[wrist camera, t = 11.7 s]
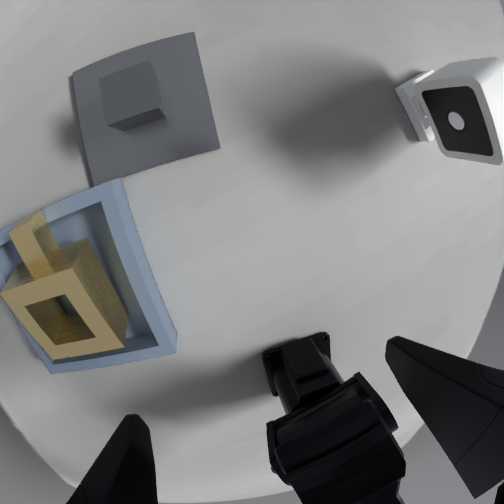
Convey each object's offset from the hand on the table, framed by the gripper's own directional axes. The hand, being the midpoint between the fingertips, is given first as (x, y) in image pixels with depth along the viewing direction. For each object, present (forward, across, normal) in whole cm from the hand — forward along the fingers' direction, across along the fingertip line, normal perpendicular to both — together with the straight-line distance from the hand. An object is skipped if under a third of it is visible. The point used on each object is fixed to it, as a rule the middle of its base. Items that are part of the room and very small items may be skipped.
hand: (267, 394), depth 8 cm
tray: (+13, +12, -1) cm, 18 cm away
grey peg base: (+13, +3, -12) cm, 18 cm away
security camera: (+13, -20, -9) cm, 26 cm away
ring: (+11, +12, -3) cm, 17 cm away
